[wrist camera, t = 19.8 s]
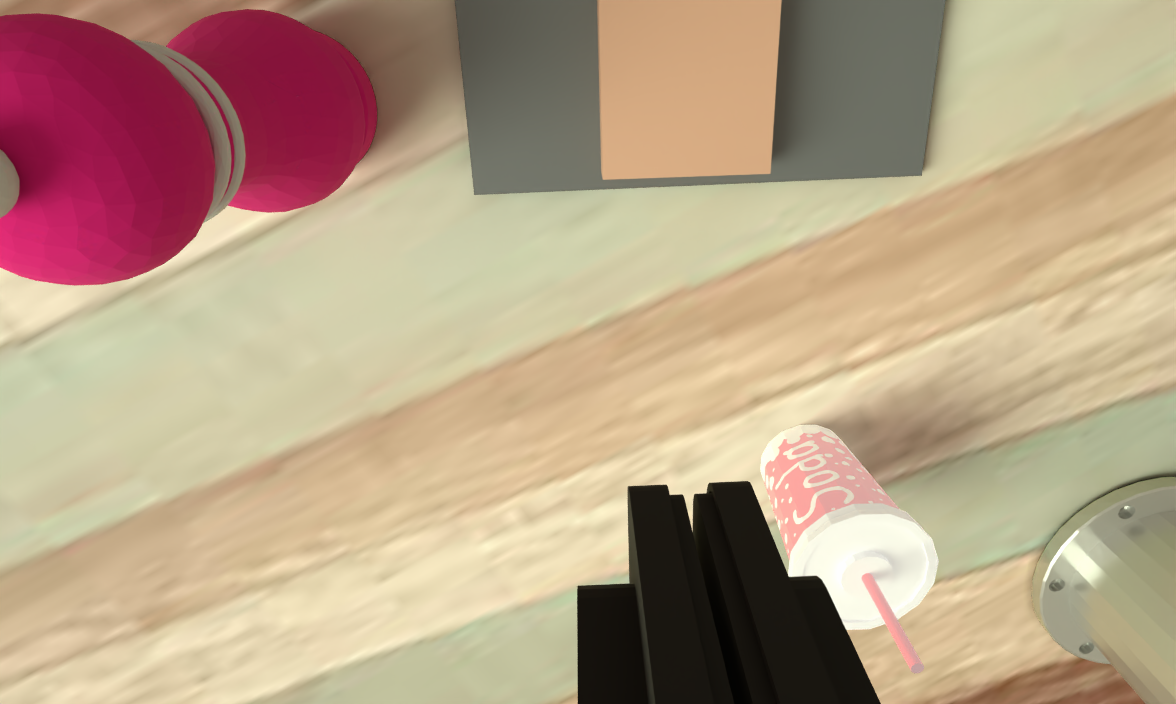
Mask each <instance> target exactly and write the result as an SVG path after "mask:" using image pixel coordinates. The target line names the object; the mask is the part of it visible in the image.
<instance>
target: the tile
mask: <svg viewBox="0 0 1176 704" xmlns="http://www.w3.org/2000/svg"><path fill="white" fill-rule="evenodd" d="M781 1H782V0H597V18H598V58H599V99H600V139H601V173H602V178H603V180H610V179H638V178H667V177H695V176H723V175H751V174H771V158H772V142H773V126H774V111H775V95H776V79H777V64H778V48H779V32H780V16H781Z"/></svg>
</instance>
